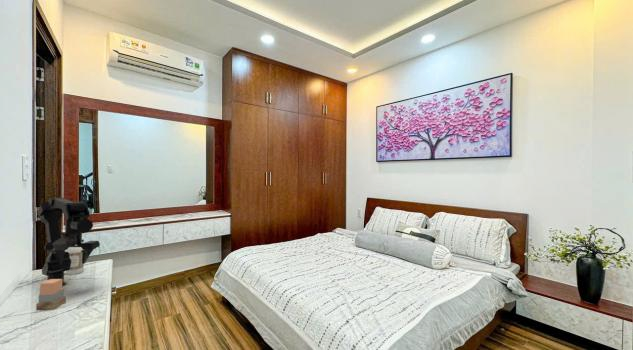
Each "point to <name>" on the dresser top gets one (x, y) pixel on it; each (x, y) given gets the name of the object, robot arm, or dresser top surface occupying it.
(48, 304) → the walnut base block
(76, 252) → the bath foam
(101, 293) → the dresser top surface
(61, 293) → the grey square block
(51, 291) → the terracotta cube
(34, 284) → the dresser top surface
